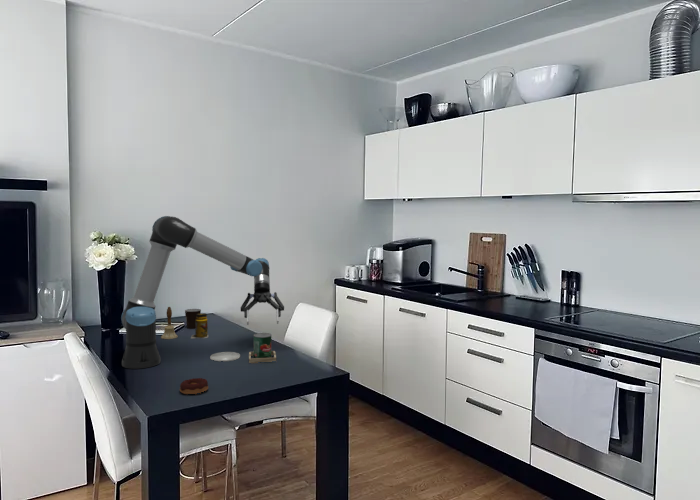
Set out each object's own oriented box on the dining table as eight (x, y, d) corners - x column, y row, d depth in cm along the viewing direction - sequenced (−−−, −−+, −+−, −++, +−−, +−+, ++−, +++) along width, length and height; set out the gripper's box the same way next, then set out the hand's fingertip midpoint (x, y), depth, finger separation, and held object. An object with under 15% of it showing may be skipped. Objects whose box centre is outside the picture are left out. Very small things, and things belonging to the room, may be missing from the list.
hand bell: (180, 337, 259) (180, 306, 258) (165, 340, 253) (165, 308, 252) (172, 334, 264) (172, 304, 263) (157, 337, 258) (157, 306, 257)
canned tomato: (267, 362, 217) (267, 337, 216) (250, 361, 218) (250, 336, 218) (273, 357, 225) (274, 333, 224) (257, 356, 226) (257, 332, 225)
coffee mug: (198, 329, 277) (198, 311, 276) (182, 329, 277) (182, 311, 277) (204, 325, 289) (204, 307, 288) (189, 324, 289) (189, 307, 288)
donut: (173, 393, 178) (173, 382, 177) (191, 385, 187) (191, 374, 187) (196, 397, 174) (196, 386, 174) (214, 389, 183) (213, 378, 183)
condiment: (207, 338, 258) (207, 315, 258) (190, 338, 257) (190, 315, 256) (208, 334, 266) (208, 312, 265) (191, 335, 264) (191, 312, 263)
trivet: (231, 362, 216) (231, 360, 216) (204, 360, 219) (204, 358, 219) (245, 354, 228) (245, 353, 228) (219, 352, 231) (219, 350, 231)
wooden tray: (276, 362, 217) (276, 357, 217) (249, 363, 215) (249, 359, 215) (275, 355, 228) (275, 350, 228) (249, 356, 226) (249, 351, 226)
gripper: (287, 290, 249) (289, 326, 236) (236, 290, 244) (235, 328, 231) (288, 280, 244) (290, 317, 230) (235, 281, 239) (234, 319, 225)
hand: (262, 322), depth 230 cm, fingers open, 13 cm apart
